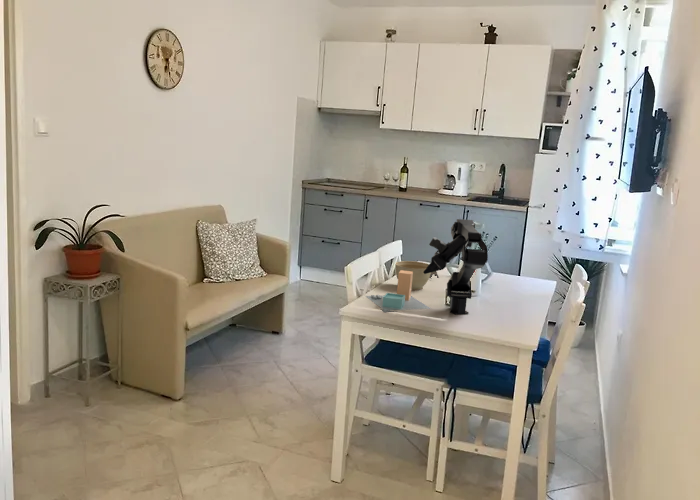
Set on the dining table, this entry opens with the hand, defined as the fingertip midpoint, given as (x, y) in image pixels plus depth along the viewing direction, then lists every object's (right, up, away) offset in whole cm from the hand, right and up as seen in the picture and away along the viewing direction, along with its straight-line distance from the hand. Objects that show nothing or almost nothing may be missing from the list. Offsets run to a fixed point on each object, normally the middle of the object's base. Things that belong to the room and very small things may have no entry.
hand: (425, 270), depth 248 cm
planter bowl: (-3, -9, +25) cm, 27 cm away
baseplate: (-12, -13, -2) cm, 18 cm away
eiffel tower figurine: (+9, -5, +50) cm, 51 cm away
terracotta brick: (-9, -11, +4) cm, 15 cm away
